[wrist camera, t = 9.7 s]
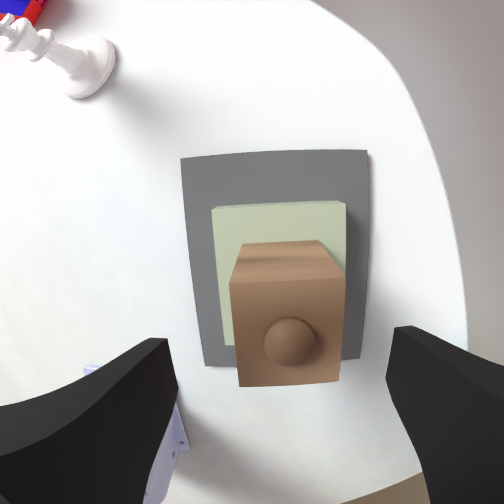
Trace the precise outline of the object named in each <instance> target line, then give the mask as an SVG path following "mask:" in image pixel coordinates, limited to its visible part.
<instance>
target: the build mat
mask: <svg viewBox="0 0 504 504" xmlns="http://www.w3.org/2000/svg"><path fill="white" fill-rule="evenodd" d="M180 160H181V174H182V187H183V199H184V210H185V220H186V230H187V240H188V249H189V258H190V266H191V274H192V282H193V290H194V297H195V304H196V312H197V318H198V325H199V332H200V338H201V344H202V351H203V357H204V363H205V366H237V361H236V351H235V345H225V340H224V331H223V323H222V314H221V305H220V296H219V286H218V277H217V267H216V256H215V246H214V234H213V223H212V211H211V210H213V209H214V208H216V207H217V206H228V205H244V204H261V203H281V202H305V201H336V200H337V201H340V202H342V203H345V204H346V267H345V277H346V287H345V308H344V324H343V338H342V350H341V360H349V359H358V358H360V353H361V345H362V336H363V327H364V316H365V304H366V291H367V274H368V249H369V182H368V158H367V150H285V151H264V152H247V153H234V154H222V155H211V156H201V157H191V158H183V159H180Z"/></svg>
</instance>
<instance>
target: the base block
mask: <svg viewBox="0 0 504 504" xmlns="http://www.w3.org/2000/svg"><path fill="white" fill-rule="evenodd" d="M211 211H212V223H213V234H214V246H215V256H216V267H217V277H218V286H219V296H220V305H221V314H222V323H223V331H224V340H225V345H235V342H234V332H233V323H232V313H231V302H230V292H229V281H230V278H231V275H232V272H233V269H234V266H235V263H236V260H237V257H238V254H239V251H240V249H241V246H242V244H246V243H266V242H286V241H306V240H319V242H320V243H321V244H322V246H323V247H324V248H325V250H326V251H327V252H328V254H329V255H330V256H331V258H332V259H333V260H334V262H335V263H336V264H337V266H338V267H339V268H340V270H341V271H342V273H343V274H344V275H345V267H346V204H345V203H342V202H340V201H337V200H336V201H305V202H281V203H261V204H244V205H228V206H217V207H216V208H214V209H213V210H211Z"/></svg>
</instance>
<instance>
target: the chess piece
mask: <svg viewBox="0 0 504 504" xmlns="http://www.w3.org/2000/svg"><path fill="white" fill-rule="evenodd" d="M14 19H15V18H14V15H12V14H10V13H8V14H7V15H6V16H5V17H4V18H3V20H2V21H1V22H0V36H1V35H2V36H4V37H3V40H2V48H3V50H4V51H6V52H14V51H25V50H26V57H27V58H28V59H29V61H31V62H36V61H38V60H40V59H41V58H43V57H46V58H48V59H49V60H51V61H52V62H54V63H55V64H57V65H58V67H57V71H56V83H57V86H58V88H59V90H60V91H61V92H62V93H63V94H65V95H66V96H68V97H70V98H73V99H81V98H85V97H87V96H90V95H91V94H93V93H95V92H96V91H97V90H98V89H99V88H101V86H102V85H103V84H104V83H105V82H106V81H107V79H108V78H109V76H110V74H111V72H112V70H113V67H114V63H115V49H114V47H113V45H112V43H111V42H110V41H109V40H107V39H105V38H103V37H100V36H96V35H92V36H87V37H84V38H81V39H79V40H78V41H76V42H75V43H74V44H72V45H71V46H70V47H68V46H65V45H62V44H58V43H56V42H53V40H54V33H53V31H52V30H50V29H42V30H40V31H38V32H37V31H36V30H35V29H34V28H33V26H32V24H31V23H30V21H29V20H28V19H27V18H20V19H18V20H16V21H15V22H13V21H14ZM12 22H13V23H12ZM11 23H12V24H11ZM10 24H11V25H10ZM9 25H10V26H9Z"/></svg>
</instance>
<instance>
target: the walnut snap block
mask: <svg viewBox="0 0 504 504" xmlns="http://www.w3.org/2000/svg"><path fill="white" fill-rule="evenodd" d="M345 287H346V277H345V275H344V274H343V273H342V271H341V270H340V268H339V267H338V266H337V264H336V263H335V262H334V260H333V259H332V258H331V256H330V255H329V254H328V252H327V251H326V250H325V248H324V247H323V246H322V244H321V243H320V242H319V240H306V241H286V242H266V243H246V244H242V246H241V249H240V251H239V254H238V257H237V260H236V263H235V266H234V269H233V272H232V275H231V278H230V281H229V292H230V302H231V313H232V323H233V332H234V342H235V351H236V361H237V370H238V379H239V387H263V386H286V385H302V384H315V383H326V382H336V381H339V371H340V361H341V350H342V338H343V324H344V308H345Z"/></svg>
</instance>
